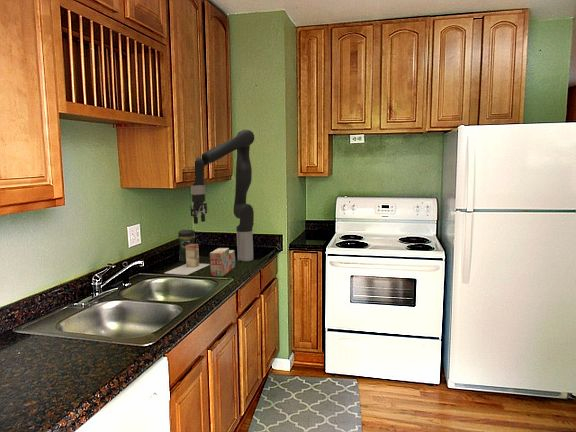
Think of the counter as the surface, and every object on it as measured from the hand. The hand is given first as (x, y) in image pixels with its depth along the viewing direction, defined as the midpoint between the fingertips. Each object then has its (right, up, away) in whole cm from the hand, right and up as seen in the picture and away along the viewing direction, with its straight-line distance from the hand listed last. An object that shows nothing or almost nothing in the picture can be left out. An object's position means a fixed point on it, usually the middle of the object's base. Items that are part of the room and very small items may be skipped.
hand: (199, 222), depth 244 cm
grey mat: (-4, -25, -10) cm, 28 cm away
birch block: (-3, -24, -5) cm, 25 cm away
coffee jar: (-9, -23, +12) cm, 27 cm away
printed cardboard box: (+16, -26, -14) cm, 33 cm away
